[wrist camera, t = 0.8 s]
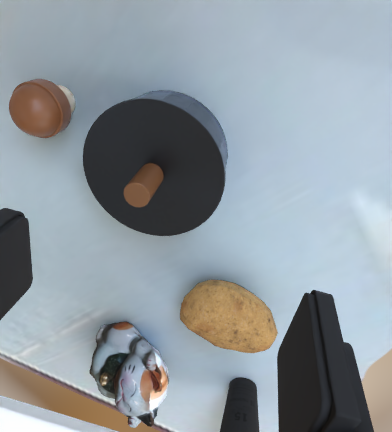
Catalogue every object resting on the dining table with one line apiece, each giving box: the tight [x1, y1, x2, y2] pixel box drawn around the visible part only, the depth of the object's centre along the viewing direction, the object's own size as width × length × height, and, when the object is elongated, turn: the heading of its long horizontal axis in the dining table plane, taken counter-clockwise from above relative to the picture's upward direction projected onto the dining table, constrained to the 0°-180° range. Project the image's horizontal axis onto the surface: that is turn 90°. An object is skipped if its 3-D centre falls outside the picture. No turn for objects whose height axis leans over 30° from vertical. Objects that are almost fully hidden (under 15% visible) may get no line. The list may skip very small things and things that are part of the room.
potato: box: [180, 280, 278, 353], centre depth 49 cm, size 10×14×8 cm
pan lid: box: [83, 98, 225, 236], centre depth 35 cm, size 16×16×6 cm
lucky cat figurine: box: [90, 322, 169, 428], centre depth 58 cm, size 15×12×14 cm
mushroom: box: [9, 79, 75, 138], centre depth 39 cm, size 6×6×8 cm
